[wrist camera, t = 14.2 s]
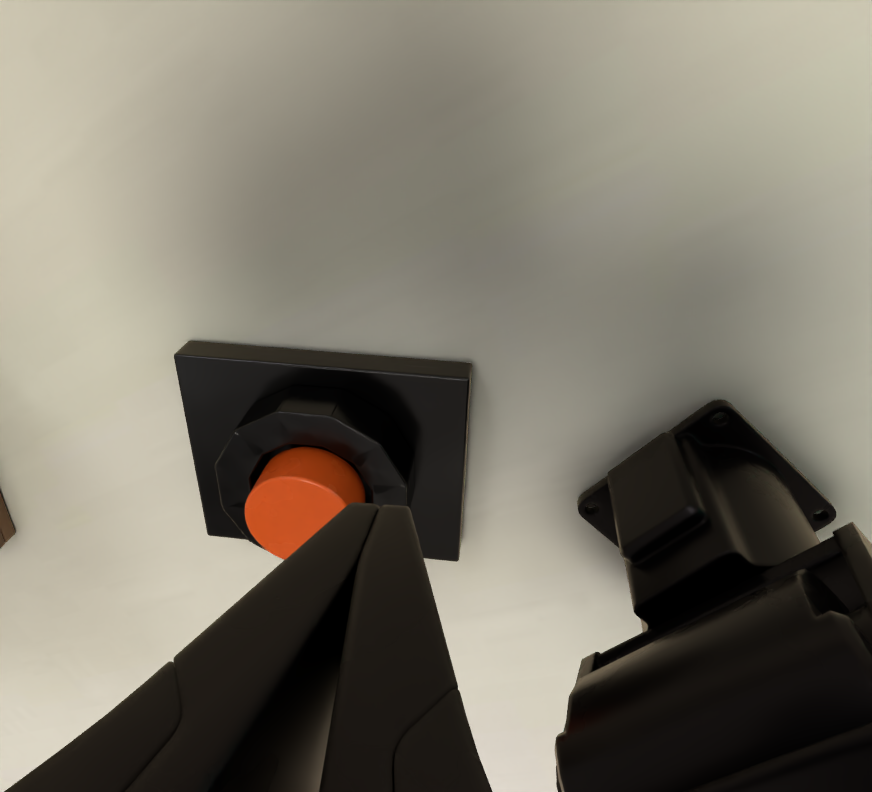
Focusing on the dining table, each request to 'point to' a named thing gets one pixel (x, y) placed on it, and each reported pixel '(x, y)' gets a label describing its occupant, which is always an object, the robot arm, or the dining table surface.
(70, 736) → the dining table surface
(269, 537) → the button
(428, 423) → the black button base
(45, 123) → the dining table surface
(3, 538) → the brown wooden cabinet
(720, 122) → the dining table surface
